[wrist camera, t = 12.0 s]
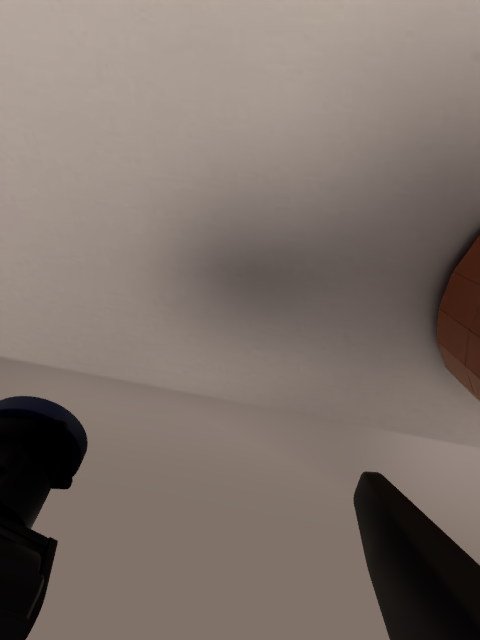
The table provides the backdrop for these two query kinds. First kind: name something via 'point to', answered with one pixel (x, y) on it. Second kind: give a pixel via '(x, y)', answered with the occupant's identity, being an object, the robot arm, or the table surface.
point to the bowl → (462, 322)
